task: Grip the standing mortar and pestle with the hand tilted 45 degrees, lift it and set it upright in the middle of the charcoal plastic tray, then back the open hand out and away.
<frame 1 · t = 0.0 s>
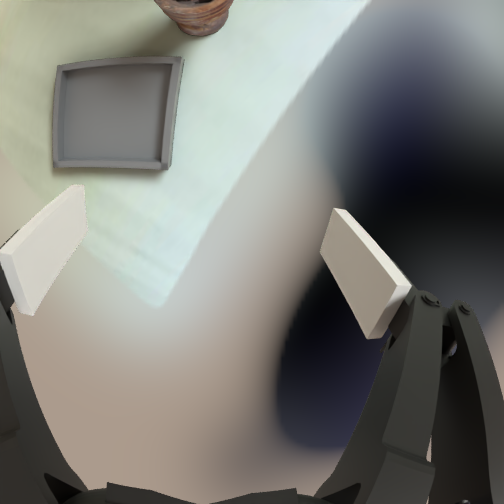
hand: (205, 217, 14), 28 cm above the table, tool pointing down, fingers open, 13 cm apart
tray: (114, 111, 33), on the table
mortar and pestle: (191, 11, 27), on the table
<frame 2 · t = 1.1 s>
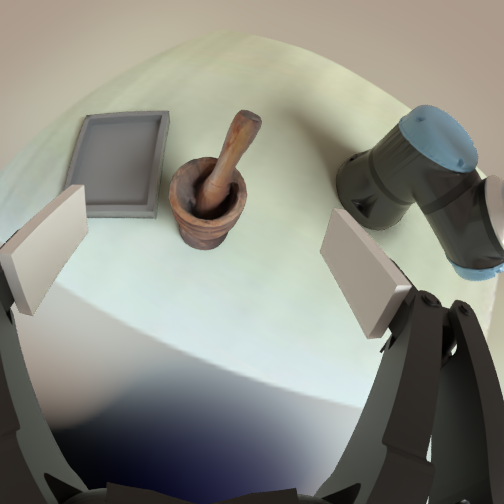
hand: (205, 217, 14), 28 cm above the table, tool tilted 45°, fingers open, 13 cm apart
tray: (117, 165, 41), on the table
mortar and pestle: (207, 217, 43), on the table
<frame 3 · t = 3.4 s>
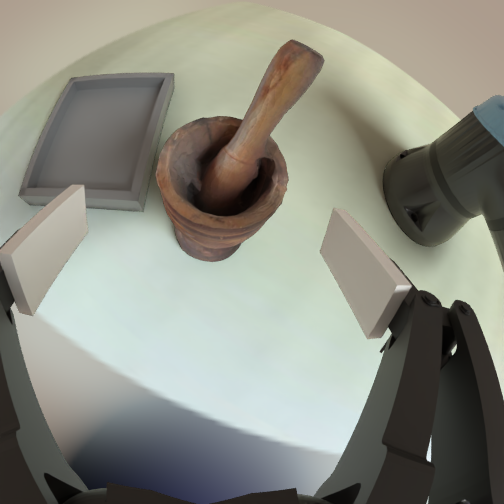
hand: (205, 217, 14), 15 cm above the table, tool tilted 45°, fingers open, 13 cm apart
tray: (100, 138, 29), on the table
mortar and pestle: (215, 214, 30), on the table
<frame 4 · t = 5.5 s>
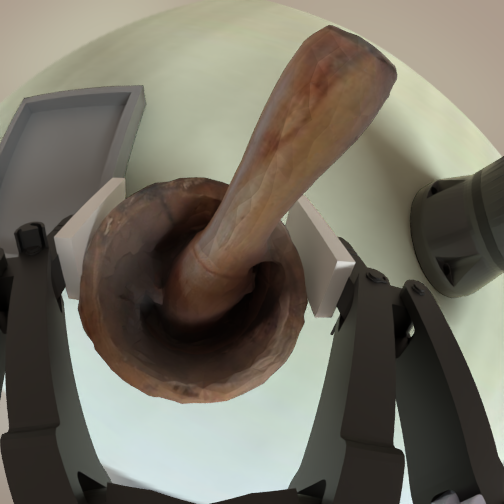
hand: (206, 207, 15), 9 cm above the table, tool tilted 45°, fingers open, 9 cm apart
tray: (54, 178, 22), on the table
mortar and pestle: (199, 286, 23), on the table, touching gripper
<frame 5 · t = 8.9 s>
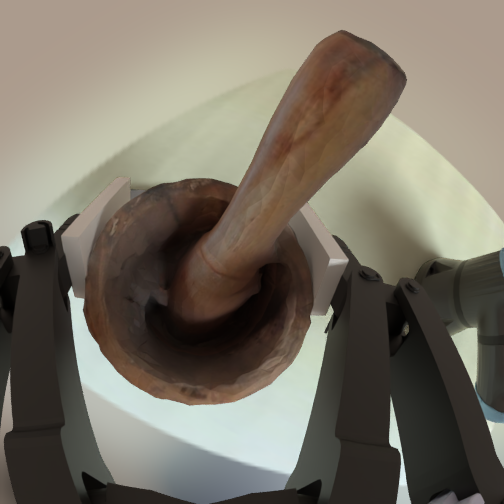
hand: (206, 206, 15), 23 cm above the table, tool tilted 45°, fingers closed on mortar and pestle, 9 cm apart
mortar and pestle: (200, 287, 22), point 14 cm above the table, touching gripper
when the fingers open (11 cm above the table, at t = 11.9 s): mortar and pestle drops 1 cm, resting on tray.
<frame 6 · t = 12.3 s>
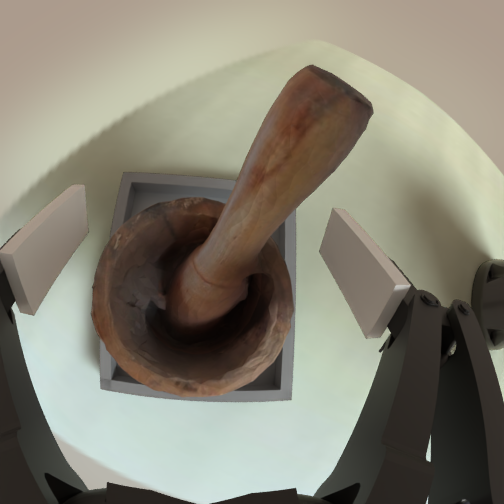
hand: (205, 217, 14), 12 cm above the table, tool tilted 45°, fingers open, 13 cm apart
tray: (199, 288, 25), on the table
mortar and pestle: (199, 290, 24), point 1 cm above the table, touching tray
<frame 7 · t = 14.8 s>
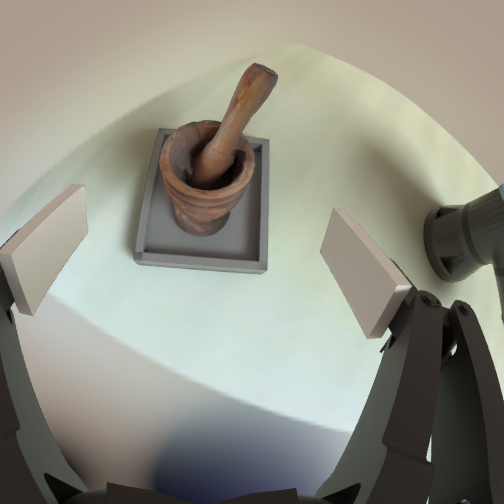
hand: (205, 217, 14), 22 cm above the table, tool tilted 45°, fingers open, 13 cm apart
tray: (205, 200, 37), on the table
mortar and pestle: (206, 199, 36), point 1 cm above the table, touching tray
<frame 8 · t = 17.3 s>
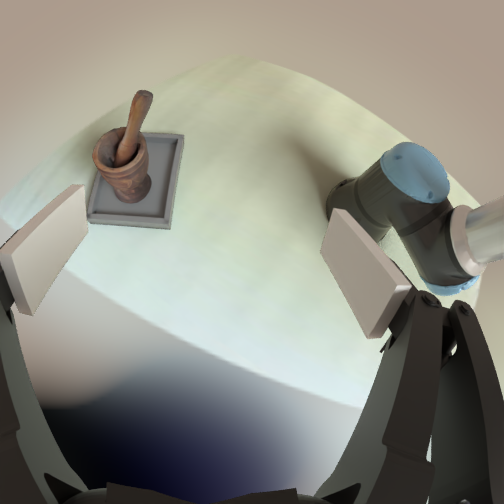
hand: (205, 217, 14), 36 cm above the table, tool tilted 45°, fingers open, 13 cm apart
tray: (137, 180, 50), on the table
mortar and pestle: (137, 179, 49), point 1 cm above the table, touching tray
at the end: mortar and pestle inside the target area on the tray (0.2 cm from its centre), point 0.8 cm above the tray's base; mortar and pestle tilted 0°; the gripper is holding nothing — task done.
